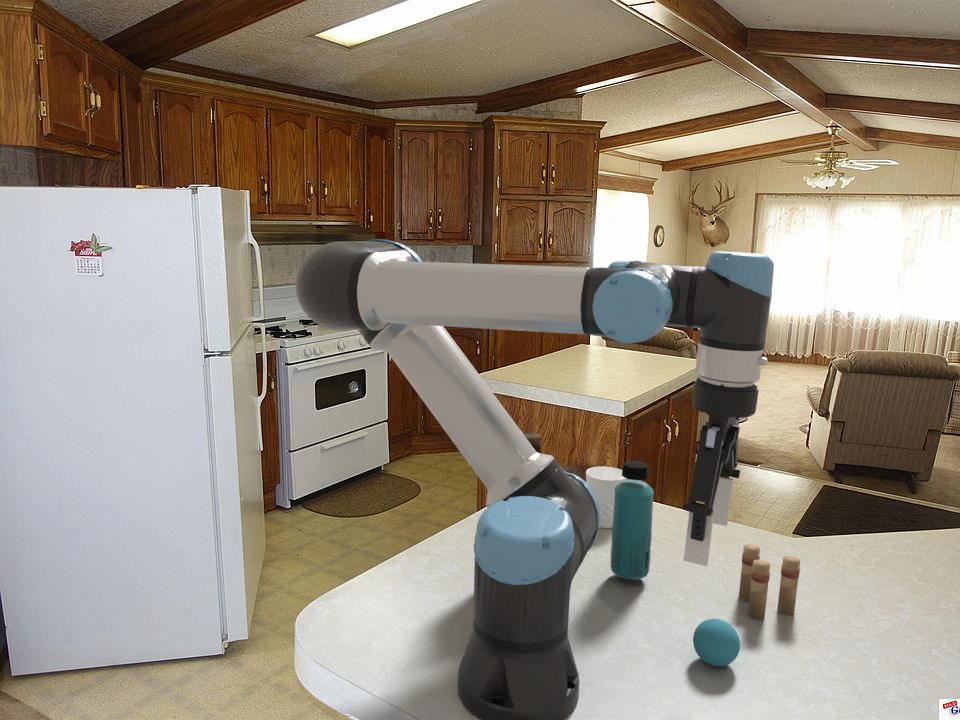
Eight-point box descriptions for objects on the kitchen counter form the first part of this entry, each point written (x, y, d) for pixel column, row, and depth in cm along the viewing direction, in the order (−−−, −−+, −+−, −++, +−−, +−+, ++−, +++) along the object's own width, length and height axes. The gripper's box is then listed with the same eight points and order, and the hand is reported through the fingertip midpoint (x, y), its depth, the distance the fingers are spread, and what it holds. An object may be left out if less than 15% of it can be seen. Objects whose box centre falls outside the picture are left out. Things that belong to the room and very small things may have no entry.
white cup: (614, 533, 139) (617, 483, 137) (576, 523, 143) (579, 474, 141) (630, 519, 146) (633, 471, 144) (593, 510, 150) (596, 463, 148)
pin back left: (745, 602, 115) (750, 552, 113) (734, 594, 117) (739, 545, 115) (758, 600, 116) (764, 549, 114) (747, 592, 118) (752, 542, 116)
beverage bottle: (649, 590, 118) (658, 471, 114) (607, 585, 119) (614, 467, 115) (648, 572, 124) (657, 458, 120) (608, 567, 125) (615, 455, 121)
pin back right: (785, 616, 111) (791, 564, 109) (773, 608, 113) (778, 556, 112) (798, 613, 112) (804, 561, 110) (786, 605, 114) (792, 554, 113)
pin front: (755, 621, 109) (760, 568, 108) (743, 612, 112) (748, 560, 110) (768, 618, 110) (774, 565, 109) (757, 609, 113) (762, 558, 111)
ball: (710, 679, 95) (714, 637, 94) (682, 654, 101) (685, 614, 99) (747, 671, 97) (752, 629, 96) (718, 646, 103) (722, 606, 101)
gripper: (743, 406, 77) (719, 591, 81) (771, 367, 99) (751, 515, 103) (671, 394, 80) (652, 572, 85) (714, 360, 102) (697, 503, 106)
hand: (706, 541), depth 94 cm, fingers open, 13 cm apart
